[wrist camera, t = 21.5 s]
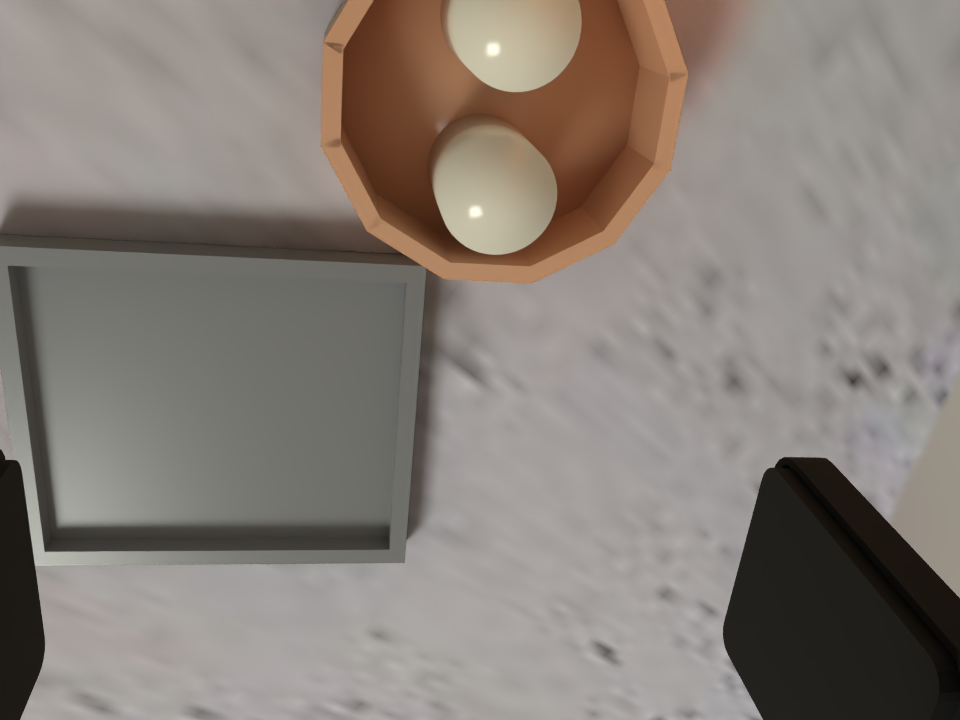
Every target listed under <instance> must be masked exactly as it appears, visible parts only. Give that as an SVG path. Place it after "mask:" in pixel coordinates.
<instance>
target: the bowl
mask: <svg viewBox="0 0 960 720" xmlns="http://www.w3.org/2000/svg"><path fill="white" fill-rule="evenodd" d="M578 1H579V4H580V9H581V19H582V23H581V34H580V39H579V42H578V46H577V48H576V51H575V53H574V55H573V57H572V59H571V60H570V62H569V64H568V65H567V66H566V68H565V69H564V70H563V71H562V72H561V73H560V74H559V75H558V76H557V77H556V78H554V79H553V80H552V81H550V82H549V83H547V84H546V85H544V86H541V87H539V88H537V89H534V90H530V91H525V92H508V91H503V90H499V89H496V88H494V87H491V86H489V85H487V84H486V83H484V82H482V81H481V80H480V79H479V78H477V77H476V76H475V75H474V74H473V73H472V72H471V71H470V70H469V69H468V68H467V67H466V66H465V65H464V64H463V63H462V62H461V61H460V60H459V59H458V58H457V57H456V56H455V55H454V54H453V52H452V51H451V50H450V48H449V46H448V44H447V43H446V40H445V38H444V35H443V31H442V28H441V20H440V10H441V3H442V0H344V2H343V3H342V5H341V6H340V8H339V10H338V11H337V13H336V15H335V16H334V18H333V20H332V21H331V23H330V25H329V26H328V28H327V30H326V32H325V36H324V40H323V71H322V117H321V147H322V149H323V151H324V153H325V155H326V156H327V158H328V160H329V162H330V164H331V166H332V168H333V169H334V171H335V173H336V175H337V177H338V179H339V181H340V182H341V184H342V186H343V188H344V190H345V192H346V193H347V195H348V197H349V199H350V201H351V203H352V205H353V206H354V208H355V210H356V212H357V214H358V216H359V218H360V219H361V221H362V223H363V225H364V227H365V229H366V231H367V232H369V233H371V234H372V235H374V236H375V237H377V238H379V239H380V240H382V241H383V242H385V243H387V244H388V245H390V246H391V247H393V248H395V249H396V250H398V251H399V252H401V253H403V254H404V255H406V256H407V257H409V258H411V259H412V260H414V261H415V262H417V263H419V264H420V265H422V266H424V267H425V268H427V269H428V270H430V271H432V272H433V273H435V274H436V275H438V276H440V277H441V278H443V279H450V280H472V281H494V282H517V283H534V282H536V281H538V280H540V279H542V278H544V277H547V276H549V275H551V274H553V273H555V272H557V271H559V270H561V269H563V268H565V267H567V266H569V265H572V264H574V263H576V262H578V261H580V260H582V259H584V258H586V257H588V256H590V255H592V254H595V253H597V252H599V251H601V250H603V249H605V248H607V247H609V246H611V245H613V244H614V243H615V242H616V241H617V239H618V238H619V237H620V235H621V234H622V233H623V232H624V230H625V229H626V228H627V226H628V225H629V224H630V222H631V221H632V220H633V218H634V217H635V216H636V215H637V213H638V212H639V211H640V209H641V208H642V207H643V205H644V204H645V203H646V201H647V200H648V199H649V198H650V196H651V195H652V194H653V192H654V191H655V190H656V188H657V187H658V186H659V184H660V183H661V182H662V181H663V179H664V178H665V177H666V175H667V174H668V173H669V171H670V170H671V165H672V160H673V154H674V149H675V144H676V138H677V133H678V127H679V122H680V116H681V111H682V106H683V100H684V95H685V89H686V84H687V78H688V71H687V68H686V65H685V62H684V59H683V56H682V53H681V50H680V47H679V44H678V41H677V38H676V35H675V32H674V29H673V25H672V22H671V19H670V16H669V13H668V10H667V7H666V4H665V1H664V0H578ZM473 114H489V115H494V116H497V117H500V118H502V119H504V120H506V121H508V122H509V123H511V124H512V125H513V126H514V127H515V128H516V129H517V130H518V131H519V132H520V133H521V134H522V135H523V136H524V137H525V138H526V139H527V140H528V141H529V142H530V143H531V144H532V145H533V146H534V147H535V148H536V149H537V150H538V151H539V152H540V153H541V154H542V155H543V156H544V157H545V159H546V160H547V162H548V163H549V165H550V166H551V168H552V170H553V173H554V176H555V179H556V184H557V202H556V208H555V211H554V214H553V217H552V219H551V221H550V223H549V224H548V226H547V228H546V229H545V230H544V232H543V233H542V234H541V235H540V236H539V237H538V238H537V239H536V240H535V241H533V242H532V243H531V244H529V245H528V246H526V247H524V248H522V249H520V250H518V251H515V252H512V253H508V254H502V255H491V254H484V253H479V252H477V251H474V250H471V249H470V248H468V247H466V246H464V245H463V244H462V243H460V242H459V241H458V240H457V239H456V238H455V237H454V236H453V235H452V234H451V232H450V231H449V230H448V228H447V226H446V224H445V222H444V220H443V217H442V215H441V212H440V210H439V207H438V204H437V202H436V199H435V197H434V194H433V191H432V189H431V186H430V183H429V179H428V173H427V163H428V157H429V153H430V150H431V147H432V145H433V143H434V141H435V139H436V138H437V136H438V135H439V134H440V132H441V131H442V130H443V129H444V128H445V127H447V126H448V125H449V124H450V123H452V122H454V121H455V120H457V119H459V118H462V117H464V116H468V115H473Z"/></svg>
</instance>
